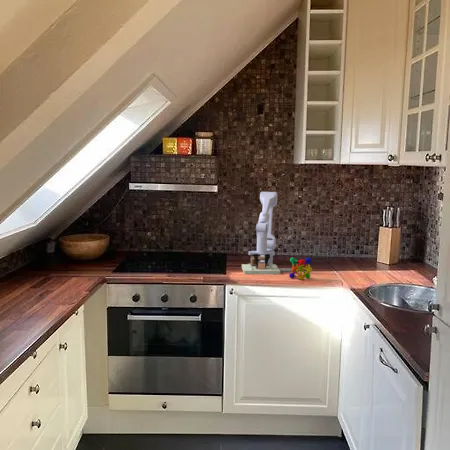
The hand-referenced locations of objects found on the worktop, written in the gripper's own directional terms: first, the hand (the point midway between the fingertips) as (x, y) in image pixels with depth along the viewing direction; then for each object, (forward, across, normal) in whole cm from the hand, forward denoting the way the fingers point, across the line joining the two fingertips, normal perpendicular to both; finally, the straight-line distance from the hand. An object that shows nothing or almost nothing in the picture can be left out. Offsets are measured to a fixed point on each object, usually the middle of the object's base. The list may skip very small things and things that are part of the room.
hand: (261, 267), depth 271 cm
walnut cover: (0, 0, +8) cm, 8 cm away
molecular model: (+3, +19, -16) cm, 25 cm away
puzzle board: (+2, 0, +2) cm, 3 cm away
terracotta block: (+2, 0, 0) cm, 2 cm away
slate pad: (+2, +15, +3) cm, 15 cm away
